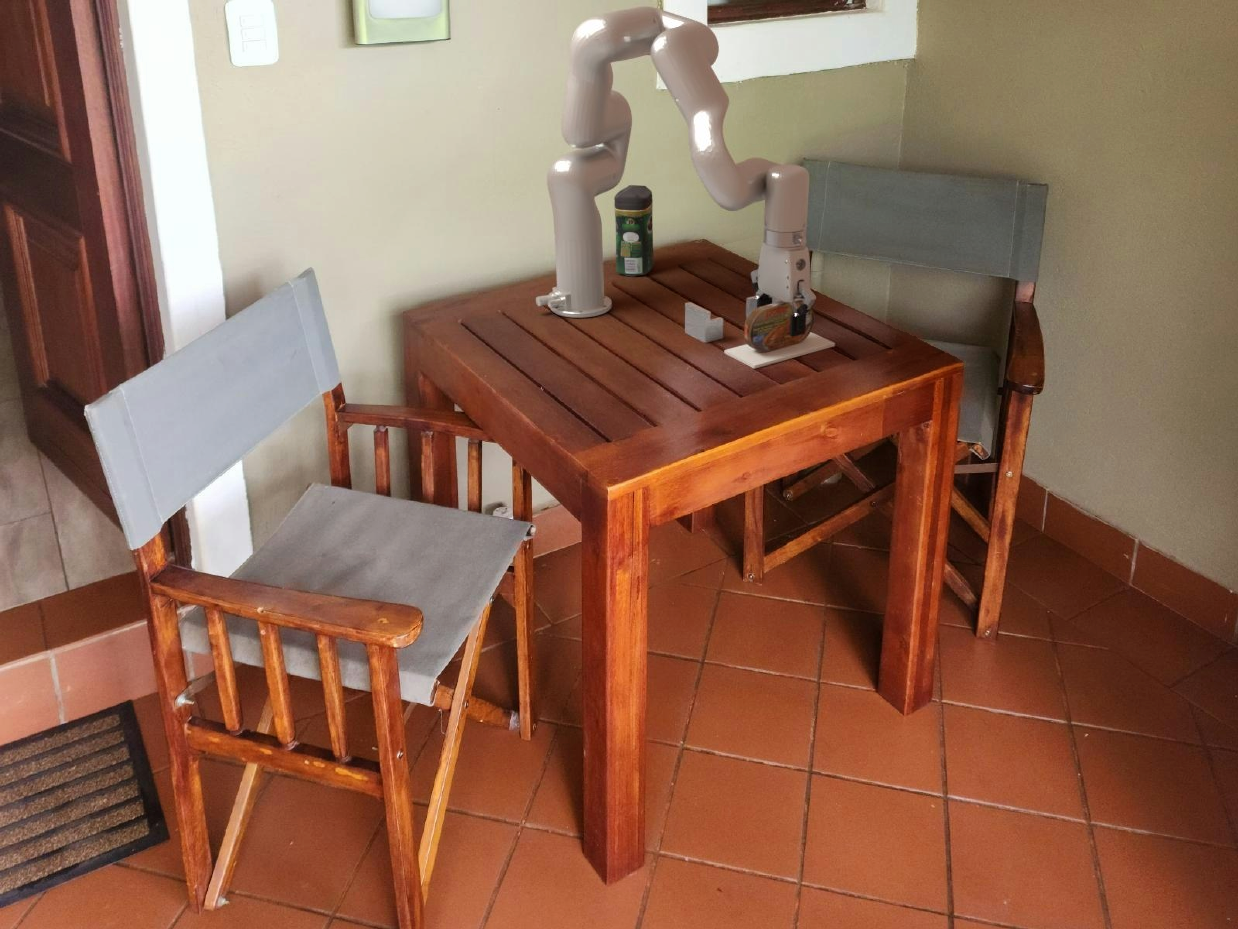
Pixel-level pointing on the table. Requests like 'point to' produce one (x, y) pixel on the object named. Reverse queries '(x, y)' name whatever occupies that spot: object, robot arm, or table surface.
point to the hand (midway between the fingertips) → (780, 326)
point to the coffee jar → (634, 230)
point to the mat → (778, 351)
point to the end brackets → (710, 321)
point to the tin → (773, 327)
